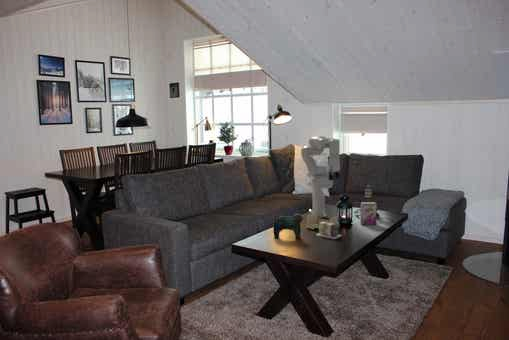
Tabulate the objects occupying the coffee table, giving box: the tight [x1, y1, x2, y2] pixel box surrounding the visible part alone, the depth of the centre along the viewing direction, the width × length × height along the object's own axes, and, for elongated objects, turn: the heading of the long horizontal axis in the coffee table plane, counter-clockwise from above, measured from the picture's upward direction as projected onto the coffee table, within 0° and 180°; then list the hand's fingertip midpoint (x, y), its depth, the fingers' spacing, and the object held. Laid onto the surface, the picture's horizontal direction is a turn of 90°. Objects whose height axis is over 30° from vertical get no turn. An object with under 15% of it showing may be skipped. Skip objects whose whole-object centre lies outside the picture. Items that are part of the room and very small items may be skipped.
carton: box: [305, 212, 340, 230], centre depth 310 cm, size 19×15×9 cm
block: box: [318, 222, 339, 237], centre depth 291 cm, size 12×5×8 cm, turn 50°
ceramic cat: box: [272, 208, 304, 240], centre depth 287 cm, size 20×6×20 cm, turn 81°
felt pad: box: [315, 232, 342, 240], centre depth 292 cm, size 15×9×1 cm, turn 50°
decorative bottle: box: [354, 184, 383, 217], centre depth 337 cm, size 22×21×25 cm
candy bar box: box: [359, 201, 378, 226], centre depth 315 cm, size 11×5×16 cm, turn 84°
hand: (334, 179), depth 314 cm, fingers open, 9 cm apart
